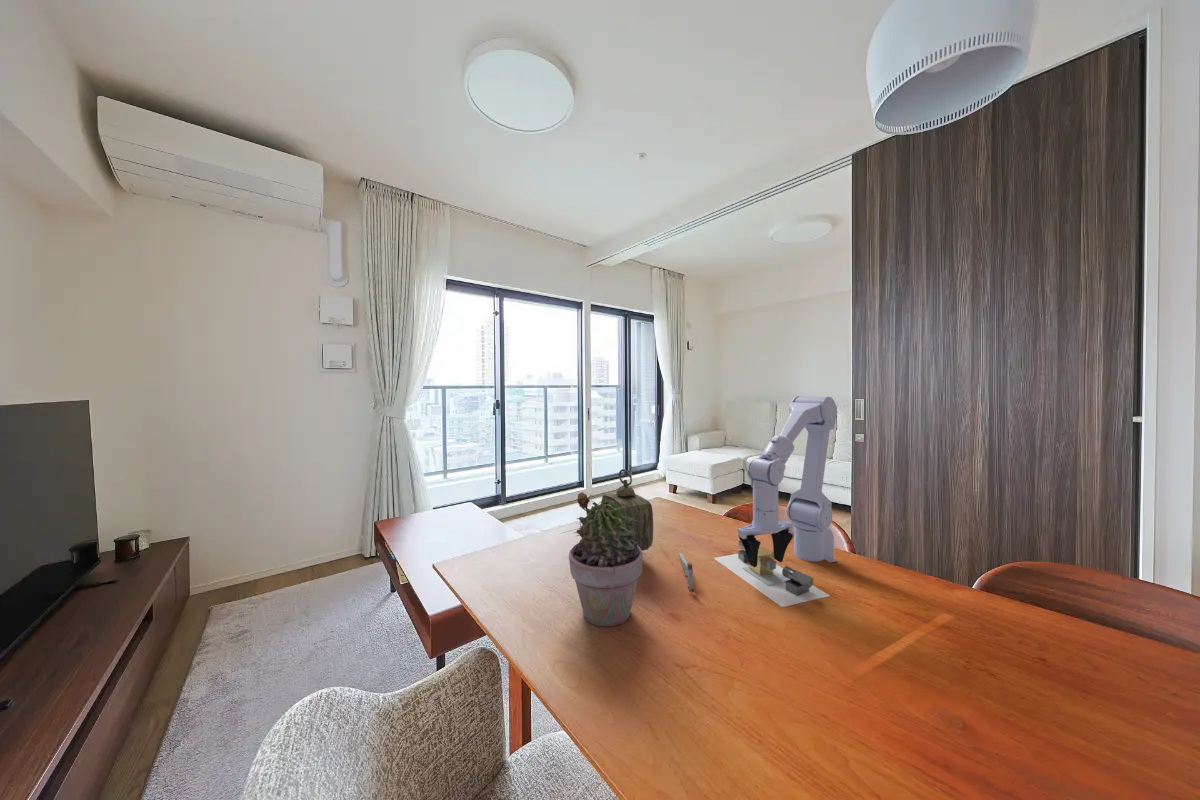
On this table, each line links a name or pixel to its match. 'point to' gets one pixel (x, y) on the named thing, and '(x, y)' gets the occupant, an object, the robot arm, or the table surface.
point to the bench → (769, 582)
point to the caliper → (687, 571)
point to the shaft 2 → (797, 581)
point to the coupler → (764, 562)
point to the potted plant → (605, 563)
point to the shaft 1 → (742, 553)
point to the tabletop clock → (634, 511)
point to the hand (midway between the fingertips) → (765, 562)
